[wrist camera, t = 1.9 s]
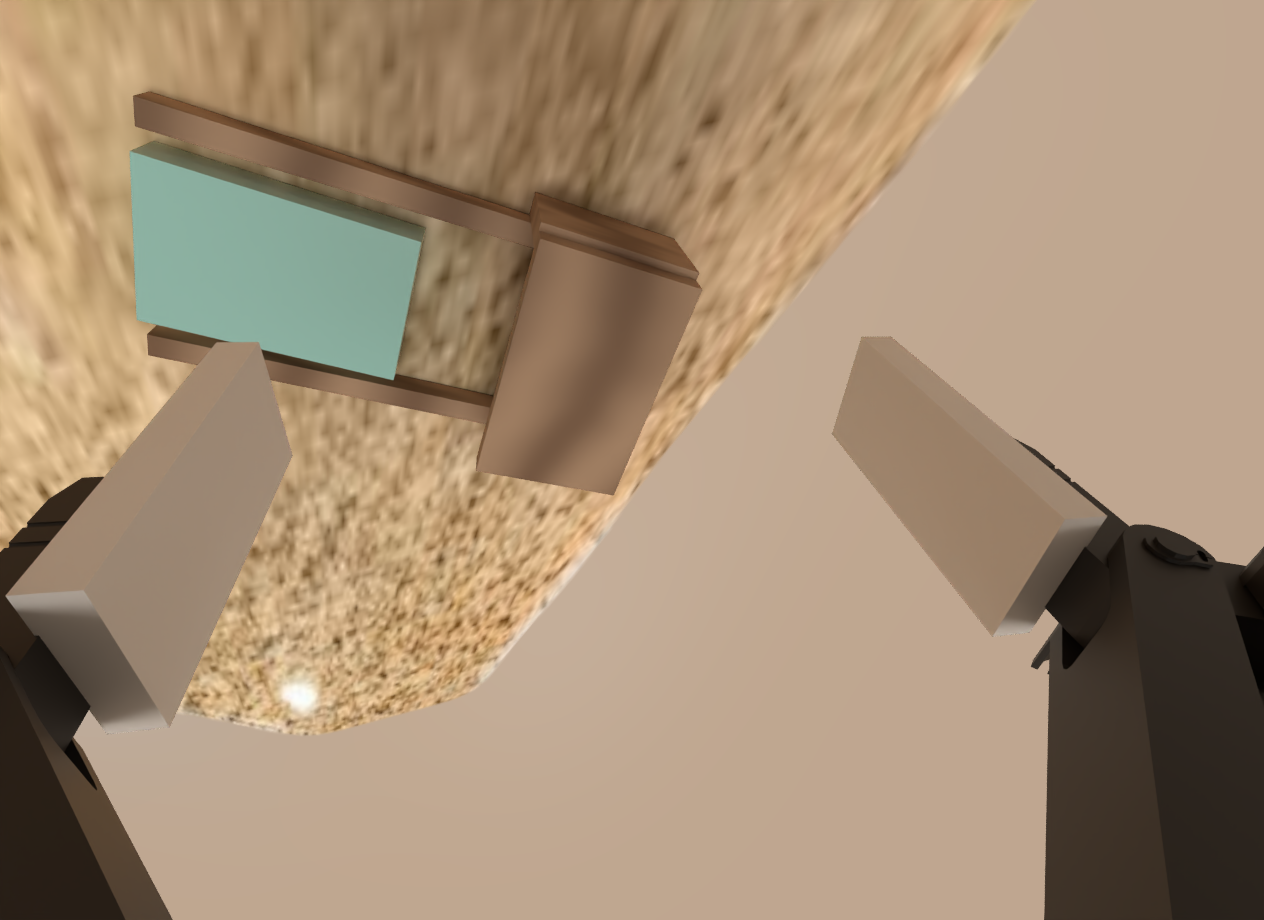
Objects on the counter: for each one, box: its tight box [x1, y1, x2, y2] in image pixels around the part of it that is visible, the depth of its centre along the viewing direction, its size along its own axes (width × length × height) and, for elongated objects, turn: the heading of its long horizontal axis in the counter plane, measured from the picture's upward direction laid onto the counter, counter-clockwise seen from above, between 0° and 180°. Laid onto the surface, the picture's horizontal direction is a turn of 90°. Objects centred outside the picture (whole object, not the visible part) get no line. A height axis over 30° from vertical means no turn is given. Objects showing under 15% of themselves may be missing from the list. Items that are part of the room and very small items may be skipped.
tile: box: [130, 141, 426, 380], centre depth 32 cm, size 12×8×3 cm, turn 68°
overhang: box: [133, 92, 702, 495], centre depth 32 cm, size 25×14×7 cm, turn 69°
